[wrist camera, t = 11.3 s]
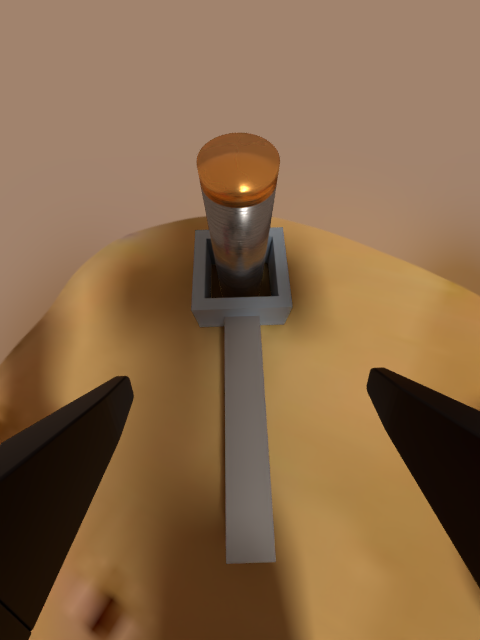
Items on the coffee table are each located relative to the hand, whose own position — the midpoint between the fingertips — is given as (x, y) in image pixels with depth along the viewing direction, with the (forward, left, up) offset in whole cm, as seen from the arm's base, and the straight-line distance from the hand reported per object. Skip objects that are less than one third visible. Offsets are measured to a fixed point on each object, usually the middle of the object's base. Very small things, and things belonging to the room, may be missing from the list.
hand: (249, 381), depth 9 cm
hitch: (+1, +2, -12) cm, 12 cm away
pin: (+5, +9, -12) cm, 16 cm away
